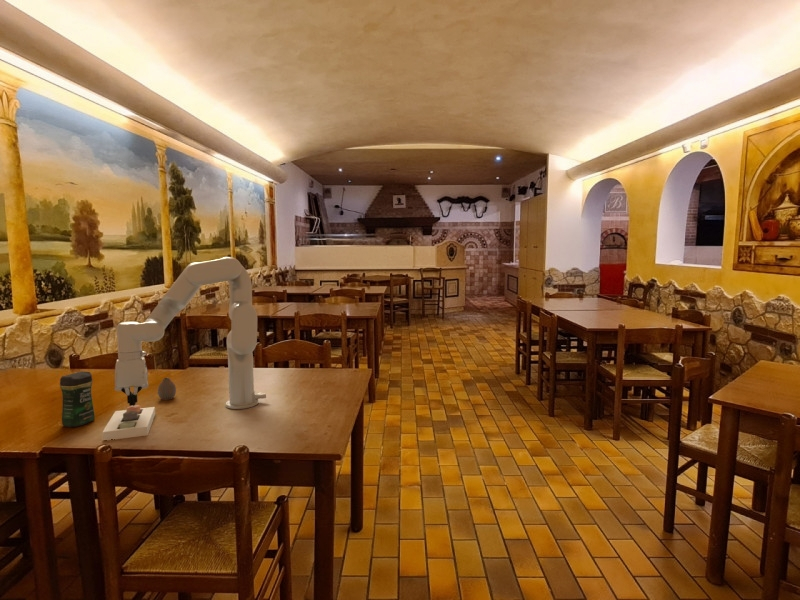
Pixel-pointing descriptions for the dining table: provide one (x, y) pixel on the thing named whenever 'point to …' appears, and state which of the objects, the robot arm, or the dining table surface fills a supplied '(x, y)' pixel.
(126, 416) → the button charcoal
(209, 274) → the robot arm
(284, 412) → the dining table surface
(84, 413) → the coffee jar
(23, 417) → the dining table surface
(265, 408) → the dining table surface
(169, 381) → the vase
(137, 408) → the button terracotta
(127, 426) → the button sage
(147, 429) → the button panel
